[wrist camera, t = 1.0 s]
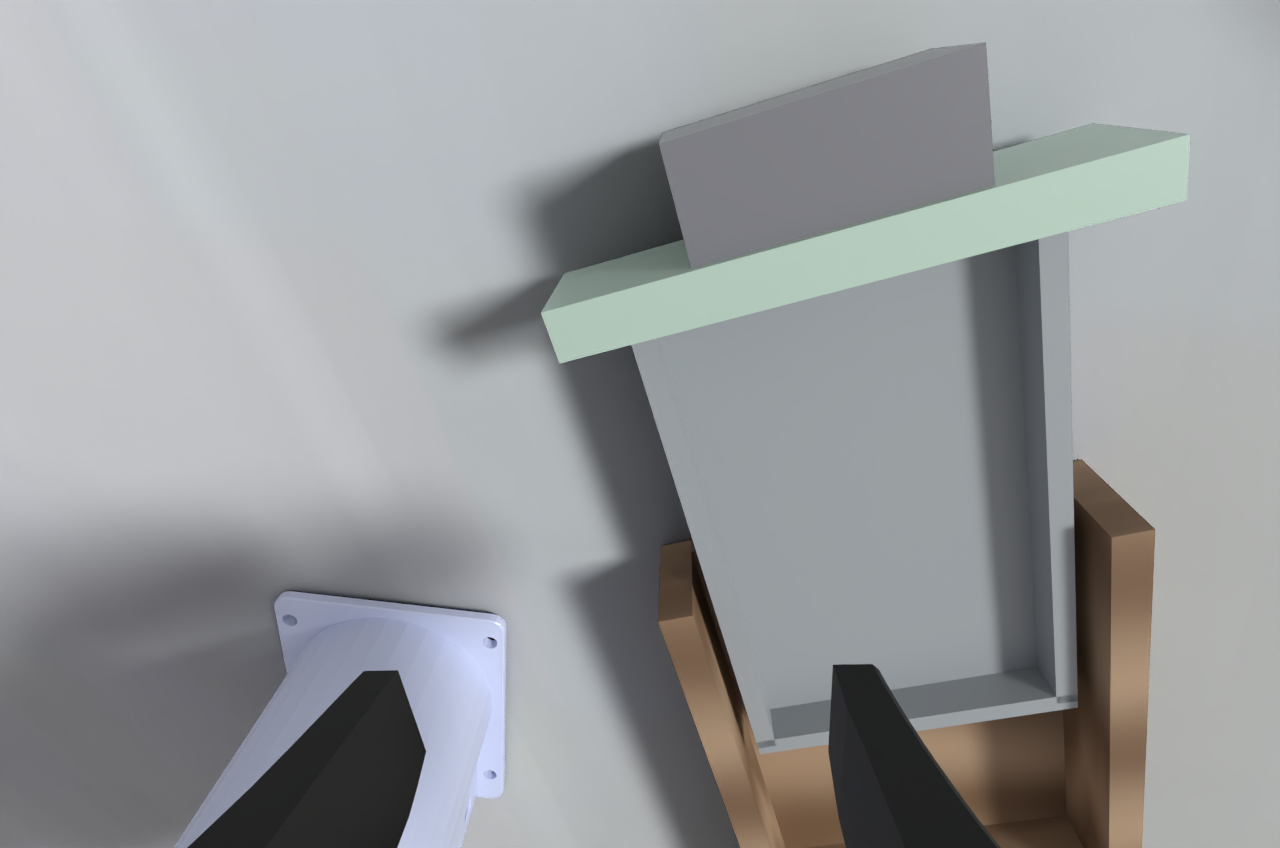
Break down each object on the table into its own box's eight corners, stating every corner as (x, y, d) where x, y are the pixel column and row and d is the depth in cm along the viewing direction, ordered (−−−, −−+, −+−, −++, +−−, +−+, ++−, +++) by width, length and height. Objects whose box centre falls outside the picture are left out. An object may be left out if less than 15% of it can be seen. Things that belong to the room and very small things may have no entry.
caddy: (1086, 813, 27) (1139, 909, 24) (765, 852, 29) (775, 945, 26) (1081, 459, 20) (1155, 529, 17) (661, 546, 22) (657, 622, 19)
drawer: (1095, 655, 22) (1158, 743, 19) (715, 715, 24) (721, 803, 22) (1092, -3, 14) (1199, -24, 11) (530, 173, 16) (497, 194, 14)
